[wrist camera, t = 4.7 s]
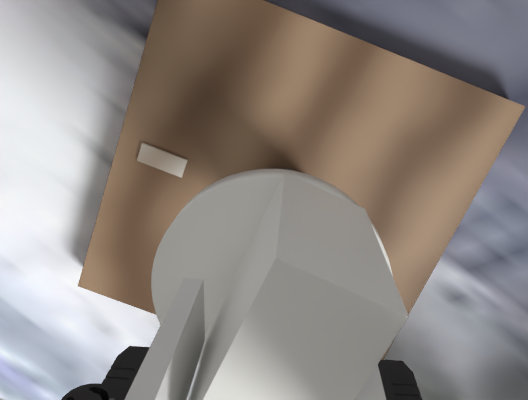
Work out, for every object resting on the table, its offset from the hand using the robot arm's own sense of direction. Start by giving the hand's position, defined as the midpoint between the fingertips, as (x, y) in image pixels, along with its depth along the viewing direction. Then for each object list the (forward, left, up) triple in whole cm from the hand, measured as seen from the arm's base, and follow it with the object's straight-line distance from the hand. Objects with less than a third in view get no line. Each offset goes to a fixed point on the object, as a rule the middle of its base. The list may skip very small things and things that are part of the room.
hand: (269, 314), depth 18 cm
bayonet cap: (0, 0, -3) cm, 3 cm away
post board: (0, 0, -15) cm, 15 cm away
